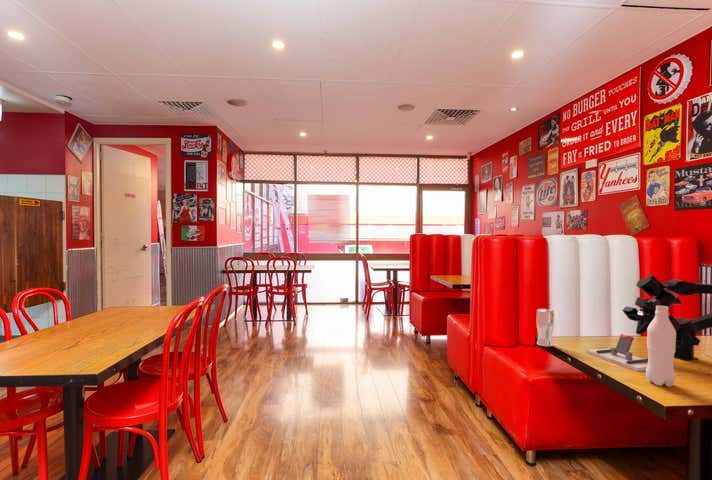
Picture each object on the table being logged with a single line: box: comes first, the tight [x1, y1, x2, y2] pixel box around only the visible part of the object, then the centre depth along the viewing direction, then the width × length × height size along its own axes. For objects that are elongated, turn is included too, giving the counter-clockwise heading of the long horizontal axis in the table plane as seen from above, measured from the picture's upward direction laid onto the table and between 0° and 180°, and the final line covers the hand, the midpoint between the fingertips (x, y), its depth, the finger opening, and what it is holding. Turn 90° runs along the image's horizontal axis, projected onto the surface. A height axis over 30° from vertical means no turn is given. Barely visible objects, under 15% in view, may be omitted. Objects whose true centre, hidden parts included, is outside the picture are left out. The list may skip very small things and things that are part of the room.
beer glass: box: [535, 308, 555, 348], centre depth 155 cm, size 7×7×15 cm
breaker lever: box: [615, 333, 634, 355], centre depth 137 cm, size 2×4×7 cm, turn 15°
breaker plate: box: [586, 347, 648, 372], centre depth 137 cm, size 12×20×4 cm, turn 15°
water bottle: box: [645, 306, 676, 388], centre depth 115 cm, size 7×7×25 cm
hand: (637, 333), depth 139 cm, fingers closed
